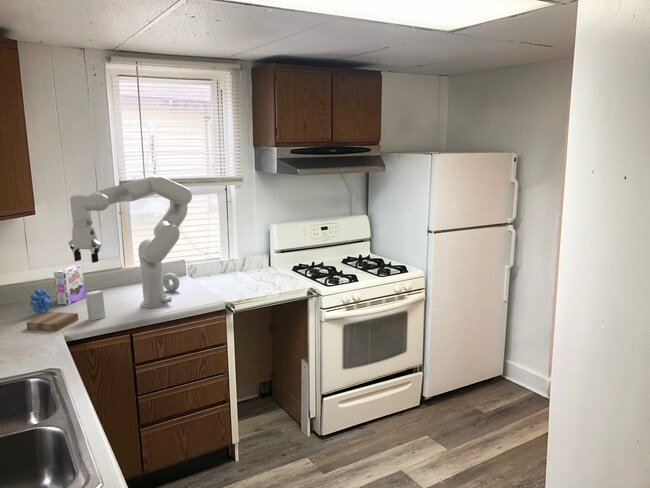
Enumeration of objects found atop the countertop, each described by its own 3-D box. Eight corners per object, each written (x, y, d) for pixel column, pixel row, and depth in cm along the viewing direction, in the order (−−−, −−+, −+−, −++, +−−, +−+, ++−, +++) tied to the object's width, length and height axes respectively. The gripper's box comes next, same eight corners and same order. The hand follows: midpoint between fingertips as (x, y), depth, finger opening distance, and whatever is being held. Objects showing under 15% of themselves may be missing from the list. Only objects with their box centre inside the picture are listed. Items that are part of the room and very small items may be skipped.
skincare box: (101, 315, 235) (98, 289, 233) (106, 317, 233) (103, 291, 230) (87, 319, 231) (84, 292, 228) (92, 321, 228) (89, 294, 226)
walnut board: (78, 319, 230) (77, 313, 229) (57, 331, 216) (56, 324, 216) (50, 318, 232) (49, 311, 232) (27, 329, 219) (26, 322, 218)
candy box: (67, 305, 250) (64, 272, 247) (57, 304, 252) (53, 271, 248) (86, 297, 264) (82, 265, 260) (76, 296, 265) (72, 265, 262)
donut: (161, 291, 272) (160, 272, 270) (166, 289, 275) (164, 271, 273) (177, 293, 268) (175, 274, 266) (181, 291, 271) (180, 272, 269)
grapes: (40, 318, 232) (37, 292, 230) (27, 317, 234) (24, 292, 231) (59, 310, 243) (56, 285, 241) (47, 309, 245) (44, 284, 242)
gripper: (104, 222, 228) (108, 260, 231) (73, 221, 233) (78, 258, 237) (91, 225, 221) (95, 264, 224) (60, 223, 227) (64, 262, 230)
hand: (86, 261), depth 230 cm, fingers open, 9 cm apart
